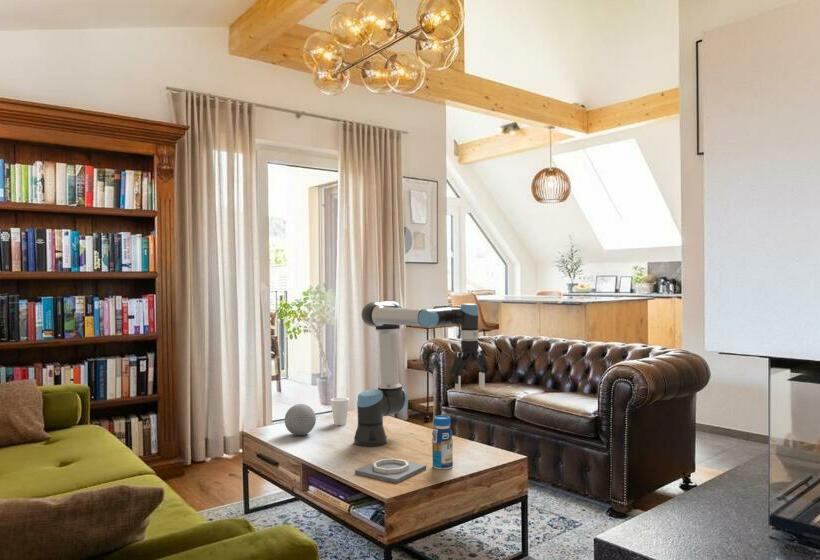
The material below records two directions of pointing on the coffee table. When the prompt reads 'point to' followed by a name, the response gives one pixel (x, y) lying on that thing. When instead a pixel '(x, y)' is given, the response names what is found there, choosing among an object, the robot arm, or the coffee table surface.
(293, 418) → the decorative ball
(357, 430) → the robot arm
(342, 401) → the foam cup
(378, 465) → the slate plate
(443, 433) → the beverage bottle
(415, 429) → the coffee table surface
